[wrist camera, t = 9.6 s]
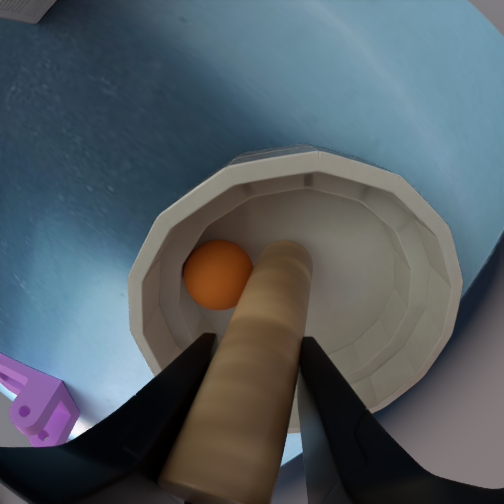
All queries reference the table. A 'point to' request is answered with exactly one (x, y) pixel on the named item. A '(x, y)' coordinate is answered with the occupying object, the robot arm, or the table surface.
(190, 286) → the ball
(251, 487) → the stirring stick
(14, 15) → the small box
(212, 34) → the table surface
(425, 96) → the table surface
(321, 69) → the table surface
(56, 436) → the bracket
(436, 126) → the table surface
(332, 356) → the bowl
